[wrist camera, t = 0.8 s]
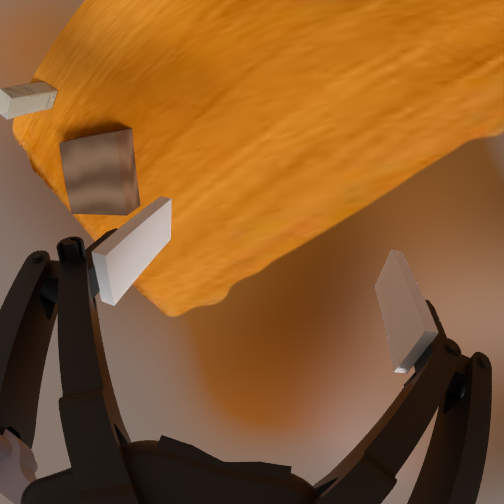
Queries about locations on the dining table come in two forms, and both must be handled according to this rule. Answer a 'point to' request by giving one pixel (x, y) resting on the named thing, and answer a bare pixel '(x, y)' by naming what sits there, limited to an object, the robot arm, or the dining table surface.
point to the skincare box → (26, 99)
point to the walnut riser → (101, 173)
